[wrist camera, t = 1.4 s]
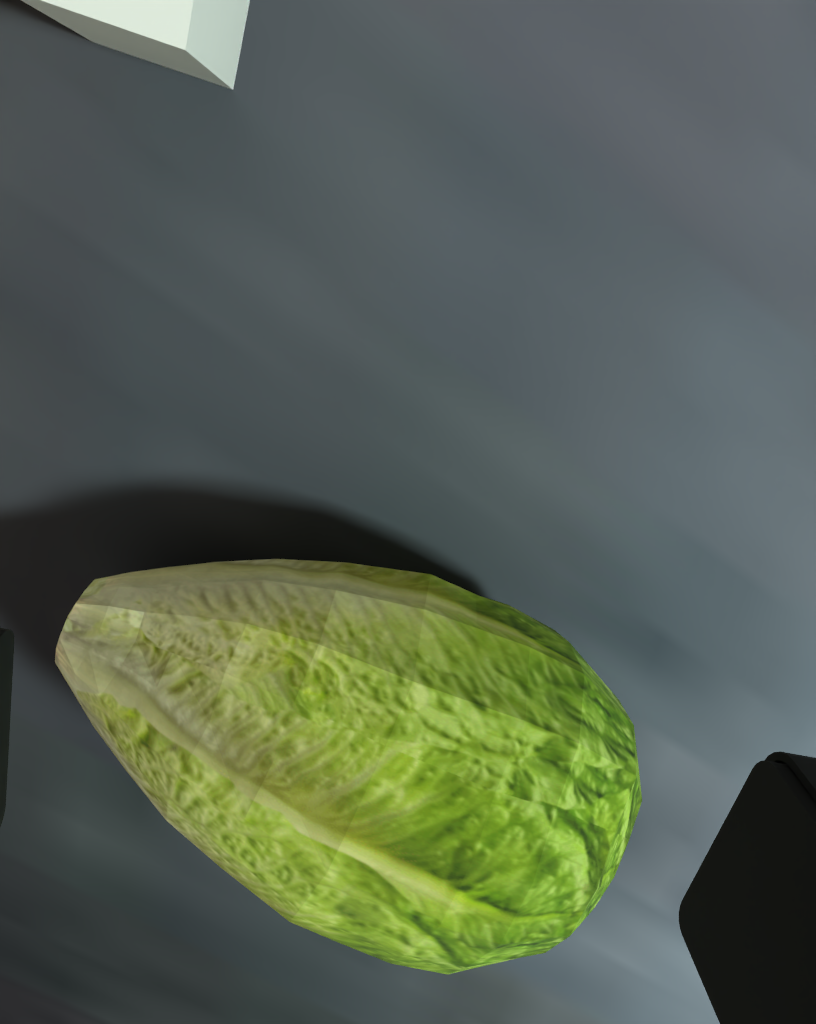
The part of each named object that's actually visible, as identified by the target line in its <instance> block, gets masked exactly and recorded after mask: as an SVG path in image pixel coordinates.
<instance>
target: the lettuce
mask: <svg viewBox="0 0 816 1024" xmlns="http://www.w3.org/2000/svg"><path fill="white" fill-rule="evenodd" d="M55 663H56V665H57V666H58V668H59V670H60V671H61V673H62V675H63V676H64V678H65V680H66V681H67V683H68V685H69V686H70V688H71V690H72V691H73V693H74V695H75V696H76V698H77V700H78V701H79V703H80V705H81V706H82V708H83V710H84V711H85V713H86V715H87V716H88V718H89V719H90V721H91V723H92V724H93V726H94V728H95V729H96V730H97V732H98V733H99V734H100V736H101V737H102V738H103V740H104V741H105V742H106V744H107V745H108V746H109V748H110V749H111V750H112V752H113V753H114V755H115V756H116V757H117V759H118V760H119V761H120V763H121V764H122V765H123V767H124V768H125V769H126V771H127V772H128V773H129V774H130V776H131V777H132V778H133V779H134V781H135V782H136V783H137V784H138V786H139V787H140V788H141V789H142V791H143V792H144V793H145V794H146V796H147V797H148V798H149V799H150V801H151V802H152V803H153V804H154V806H155V807H156V808H157V809H158V811H159V812H160V813H161V814H162V816H163V817H164V818H165V819H166V821H168V822H169V823H170V824H171V825H172V826H173V827H175V828H176V829H177V830H178V831H179V832H180V833H181V834H183V835H184V836H185V837H186V838H187V839H188V840H190V841H191V842H192V843H193V844H194V845H195V846H197V847H198V848H199V849H200V850H201V851H202V852H204V853H205V854H206V855H207V856H208V857H209V858H211V859H212V860H213V861H214V862H215V863H216V864H218V865H219V866H220V867H221V868H222V869H224V870H225V871H226V872H227V873H229V874H230V875H231V876H232V877H234V878H235V879H236V880H237V881H239V882H240V883H241V884H243V885H244V886H245V887H246V888H248V889H249V890H250V891H251V892H253V893H254V894H255V895H257V896H258V897H259V898H260V899H262V900H263V901H264V902H265V903H267V904H268V905H269V906H270V907H272V908H273V909H274V910H276V911H277V912H278V913H279V914H281V915H282V916H283V917H284V918H286V919H287V920H288V921H290V922H292V923H294V924H296V925H299V926H301V927H303V928H306V929H308V930H310V931H313V932H315V933H318V934H320V935H322V936H325V937H327V938H329V939H332V940H334V941H336V942H339V943H341V944H344V945H346V946H349V947H351V948H354V949H356V950H359V951H361V952H364V953H366V954H369V955H371V956H374V957H376V958H379V959H381V960H384V961H386V962H389V963H391V964H397V965H402V966H407V967H412V968H417V969H422V970H428V971H433V972H438V973H443V974H451V973H455V972H459V971H464V970H468V969H472V968H477V967H481V966H485V965H490V964H494V963H499V962H503V961H507V960H512V959H516V958H520V957H526V956H531V955H536V954H541V953H545V952H547V951H548V950H550V949H551V948H553V947H554V946H556V945H557V944H559V943H560V942H562V941H563V940H565V939H566V938H568V937H569V936H570V935H571V934H572V933H573V932H574V931H575V929H576V928H577V927H578V926H579V925H580V924H581V923H582V921H583V920H584V919H585V918H586V917H587V916H588V915H589V913H590V912H591V911H592V910H593V909H594V908H595V906H596V904H597V903H598V901H599V900H600V898H601V897H602V895H603V893H604V892H605V890H606V889H607V887H608V886H609V884H610V883H611V881H612V879H613V878H614V876H615V873H616V871H617V868H618V866H619V863H620V861H621V858H622V856H623V853H624V851H625V849H626V846H627V844H628V841H629V838H630V835H631V832H632V829H633V826H634V823H635V820H636V817H637V814H638V811H639V808H640V805H641V802H642V796H641V787H640V778H639V769H638V760H637V751H636V742H635V733H634V725H633V723H632V722H631V720H630V718H629V717H628V715H627V713H626V711H625V710H624V708H623V706H622V705H621V703H620V701H619V700H618V699H617V697H616V696H615V695H614V694H613V693H612V692H611V690H610V689H609V688H608V687H607V686H606V685H605V683H604V682H603V681H602V680H601V679H600V678H599V676H598V675H597V674H596V673H595V672H594V671H593V669H592V668H591V667H590V666H589V665H588V664H587V662H586V661H585V660H584V659H583V658H582V657H581V655H580V654H579V653H578V652H577V651H576V650H575V648H574V647H573V646H572V645H571V644H570V643H569V642H568V641H567V640H566V639H565V638H563V637H562V636H561V635H560V634H558V633H557V632H556V631H555V630H553V629H551V628H550V627H548V626H546V625H544V624H542V623H540V622H539V621H537V620H535V619H533V618H531V617H529V616H528V615H526V614H524V613H522V612H520V611H519V610H517V609H515V608H513V607H511V606H509V605H507V604H504V603H501V602H497V601H494V600H491V599H488V598H485V597H482V596H478V595H476V594H474V593H472V592H469V591H467V590H465V589H463V588H460V587H458V586H456V585H454V584H451V583H449V582H447V581H445V580H443V579H440V578H438V577H436V576H434V575H431V574H425V573H418V572H411V571H403V570H396V569H389V568H382V567H375V566H368V565H360V564H353V563H346V562H328V561H308V560H289V559H264V560H244V561H224V562H211V563H201V564H192V565H183V566H174V567H165V568H158V569H150V570H143V571H136V572H129V573H124V574H119V575H114V576H109V577H104V578H99V579H94V581H93V582H92V583H91V584H90V585H89V586H88V587H87V588H86V590H85V591H84V592H83V594H82V595H81V596H80V598H79V599H78V601H77V602H76V604H75V605H74V607H73V608H72V610H71V612H70V613H69V615H68V616H67V619H66V621H65V624H64V627H63V629H62V632H61V634H60V637H59V640H58V643H57V647H56V654H55Z"/></svg>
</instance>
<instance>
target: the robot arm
mask: <svg viewBox="0 0 816 1024" xmlns="http://www.w3.org/2000/svg"><path fill="white" fill-rule="evenodd" d="M13 654H14V635H13V632H12V631H11V630H9V629H3V628H0V826H1V823H2V820H3V816H4V812H5V805H6V787H7V768H8V749H9V730H10V711H11V692H12V673H13ZM679 924H680V929H681V933H682V936H683V938H684V940H685V943H686V945H687V947H688V950H689V952H690V954H691V957H692V959H693V961H694V964H695V966H696V968H697V971H698V973H699V976H700V978H701V980H702V983H703V985H704V987H705V990H706V992H707V994H708V997H709V999H710V1001H711V1004H712V1006H713V1008H714V1011H715V1013H716V1015H717V1018H718V1020H719V1022H720V1024H816V758H813V757H807V756H802V755H796V754H790V753H785V752H774V753H772V754H771V755H769V756H768V757H767V758H766V759H765V761H760V762H758V763H757V764H756V765H755V766H754V768H753V769H752V771H751V773H750V775H749V777H748V778H747V780H746V782H745V784H744V786H743V788H742V790H741V792H740V793H739V795H738V797H737V799H736V801H735V803H734V805H733V806H732V808H731V810H730V812H729V814H728V816H727V818H726V820H725V821H724V823H723V825H722V827H721V829H720V831H719V833H718V835H717V836H716V838H715V840H714V842H713V844H712V846H711V848H710V849H709V851H708V853H707V855H706V857H705V859H704V861H703V863H702V864H701V866H700V868H699V870H698V872H697V874H696V876H695V877H694V879H693V881H692V883H691V885H690V887H689V889H688V891H687V892H686V894H685V896H684V898H683V900H682V902H681V905H680V910H679Z"/></svg>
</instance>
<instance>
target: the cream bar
mask: <svg viewBox="0 0 816 1024" xmlns="http://www.w3.org/2000/svg"><path fill="white" fill-rule="evenodd" d="M21 1H23V2H25V3H26V4H28V5H30V6H32V7H33V8H35V9H37V10H38V11H40V12H42V13H44V14H45V15H47V16H49V17H51V18H52V19H54V20H56V21H57V22H59V23H61V24H63V25H64V26H66V27H68V28H70V29H71V30H73V31H75V32H76V33H78V34H80V35H82V36H83V37H85V38H87V39H88V40H90V41H92V42H94V43H97V44H100V45H103V46H106V47H108V48H111V49H114V50H117V51H120V52H123V53H126V54H129V55H132V56H135V57H138V58H141V59H144V60H147V61H150V62H153V63H156V64H159V65H161V66H164V67H167V68H170V69H173V70H176V71H179V72H182V73H185V74H188V75H191V76H194V77H197V78H200V79H203V80H206V81H209V82H212V83H214V84H217V85H220V86H223V87H226V88H229V89H232V90H233V88H234V82H235V77H236V72H237V66H238V61H239V55H240V50H241V45H242V39H243V34H244V29H245V23H246V18H247V13H248V7H249V2H250V0H21Z"/></svg>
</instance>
